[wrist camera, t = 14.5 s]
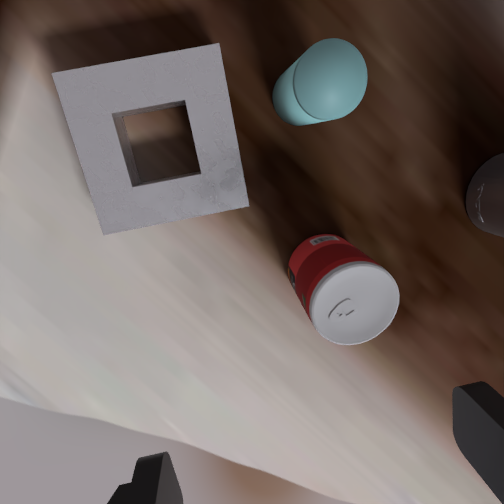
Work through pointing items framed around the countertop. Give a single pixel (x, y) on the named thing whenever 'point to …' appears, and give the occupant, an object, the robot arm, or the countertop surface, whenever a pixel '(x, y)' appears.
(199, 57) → the housing
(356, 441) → the countertop surface
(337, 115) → the teal cylinder
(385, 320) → the canned food
